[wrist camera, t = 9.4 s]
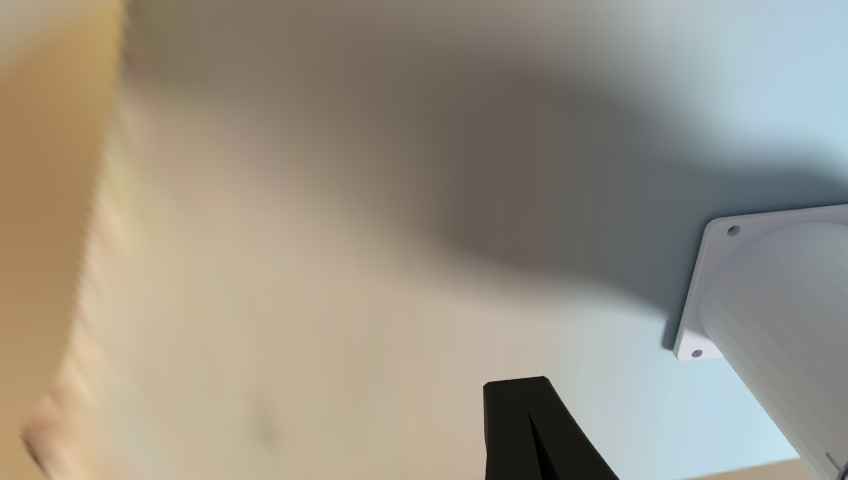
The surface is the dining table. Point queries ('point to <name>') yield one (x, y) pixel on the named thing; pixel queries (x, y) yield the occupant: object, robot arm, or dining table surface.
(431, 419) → the dining table surface
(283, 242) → the dining table surface
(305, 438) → the dining table surface
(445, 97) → the dining table surface
